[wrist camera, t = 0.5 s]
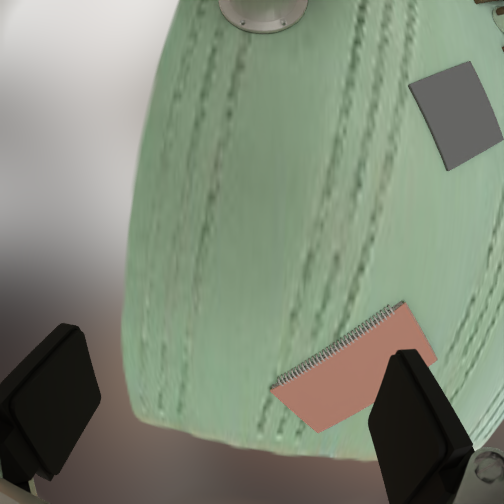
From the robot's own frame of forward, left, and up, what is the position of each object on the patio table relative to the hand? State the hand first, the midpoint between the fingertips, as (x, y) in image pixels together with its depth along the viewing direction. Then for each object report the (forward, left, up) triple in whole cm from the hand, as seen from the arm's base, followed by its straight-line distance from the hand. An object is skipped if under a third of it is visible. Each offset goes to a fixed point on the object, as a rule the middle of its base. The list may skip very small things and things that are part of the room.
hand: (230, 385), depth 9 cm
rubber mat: (+2, +34, -36) cm, 50 cm away
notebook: (+34, 0, -37) cm, 50 cm away
